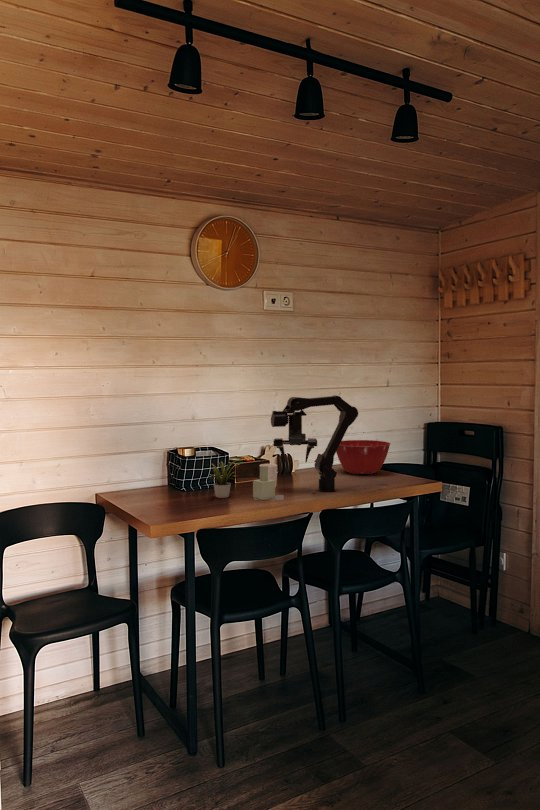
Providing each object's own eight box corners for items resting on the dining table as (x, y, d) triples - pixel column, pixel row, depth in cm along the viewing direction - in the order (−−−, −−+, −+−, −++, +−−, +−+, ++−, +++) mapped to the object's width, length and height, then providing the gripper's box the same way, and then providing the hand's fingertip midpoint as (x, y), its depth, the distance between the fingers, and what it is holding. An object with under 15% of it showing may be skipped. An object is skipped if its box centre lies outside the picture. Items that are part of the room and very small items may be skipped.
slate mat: (283, 497, 264) (283, 495, 264) (283, 502, 255) (283, 499, 255) (254, 497, 264) (254, 495, 264) (253, 502, 255) (253, 499, 255)
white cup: (275, 489, 281) (275, 466, 281) (258, 488, 283) (258, 466, 282) (278, 485, 289) (278, 463, 288) (261, 485, 291) (261, 463, 290)
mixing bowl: (328, 468, 334) (328, 439, 333) (381, 467, 337) (381, 438, 336) (340, 478, 306) (340, 446, 305) (397, 477, 309) (397, 445, 308)
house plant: (246, 495, 268) (246, 457, 267) (238, 502, 254) (237, 462, 253) (213, 494, 271) (213, 456, 270) (204, 501, 257) (203, 461, 256)
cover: (266, 495, 264) (265, 464, 263) (274, 497, 258) (274, 466, 257) (253, 497, 260) (252, 465, 259) (262, 499, 255) (261, 467, 254)
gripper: (273, 428, 265) (273, 465, 266) (317, 428, 264) (317, 465, 265) (273, 425, 276) (273, 461, 277) (316, 425, 276) (316, 461, 277)
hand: (295, 462), depth 274 cm, fingers open, 9 cm apart
